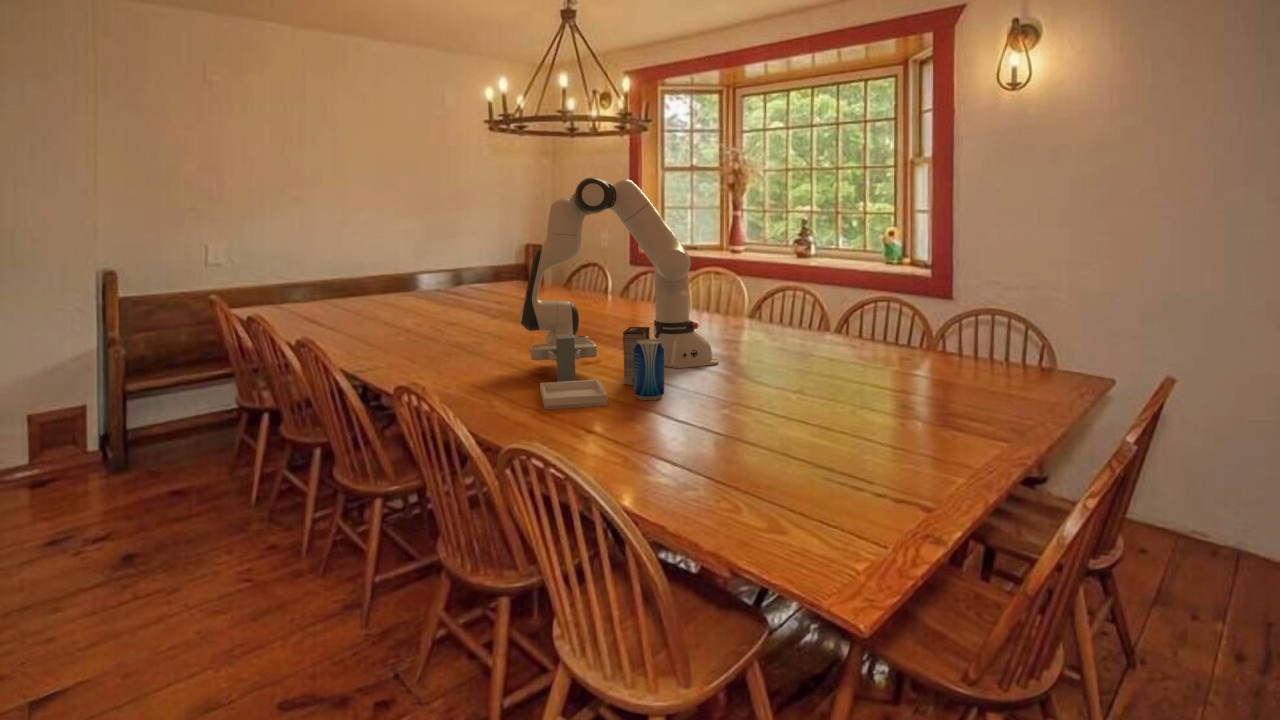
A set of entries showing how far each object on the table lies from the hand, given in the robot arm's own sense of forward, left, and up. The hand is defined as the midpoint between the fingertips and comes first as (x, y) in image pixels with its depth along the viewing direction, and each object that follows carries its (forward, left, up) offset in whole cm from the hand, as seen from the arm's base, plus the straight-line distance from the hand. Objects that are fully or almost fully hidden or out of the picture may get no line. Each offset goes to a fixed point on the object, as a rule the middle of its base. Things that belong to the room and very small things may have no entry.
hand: (565, 356), depth 234 cm
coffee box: (-21, +3, -8) cm, 23 cm away
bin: (0, +18, -8) cm, 20 cm away
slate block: (0, -1, -8) cm, 8 cm away
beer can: (-21, +21, -8) cm, 31 cm away
